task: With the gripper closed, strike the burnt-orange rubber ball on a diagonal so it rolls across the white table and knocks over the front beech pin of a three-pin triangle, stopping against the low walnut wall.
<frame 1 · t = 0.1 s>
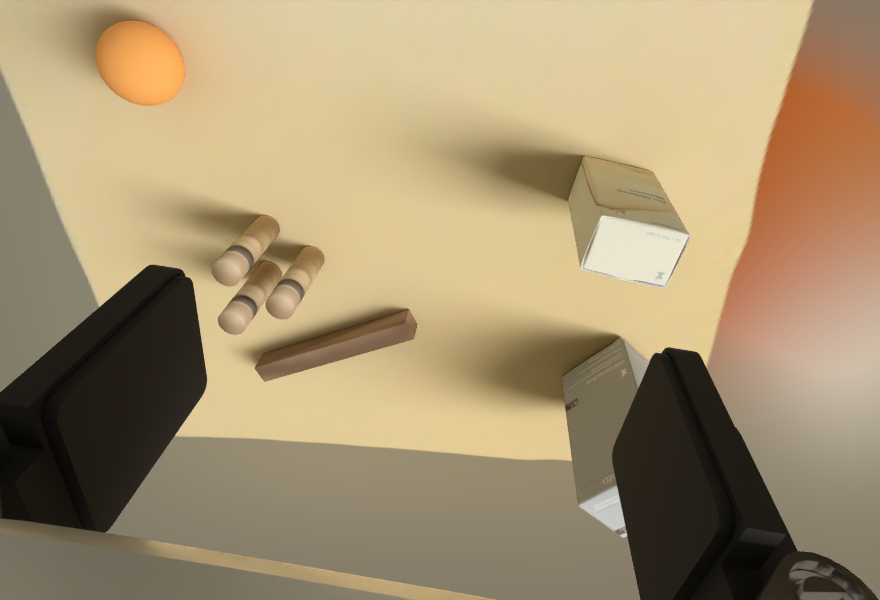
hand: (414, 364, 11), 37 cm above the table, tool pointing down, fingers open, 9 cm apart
skincare box 2: (607, 186, 46), on the table
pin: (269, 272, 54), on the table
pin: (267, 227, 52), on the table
back wall: (337, 339, 58), on the table
skincare box: (609, 375, 57), on the table
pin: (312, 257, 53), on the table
ball: (141, 64, 42), on the table
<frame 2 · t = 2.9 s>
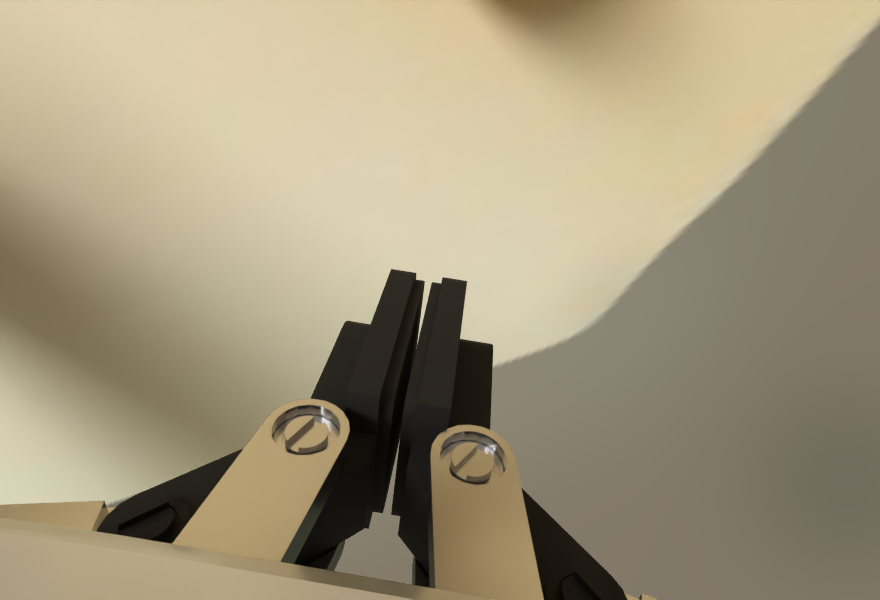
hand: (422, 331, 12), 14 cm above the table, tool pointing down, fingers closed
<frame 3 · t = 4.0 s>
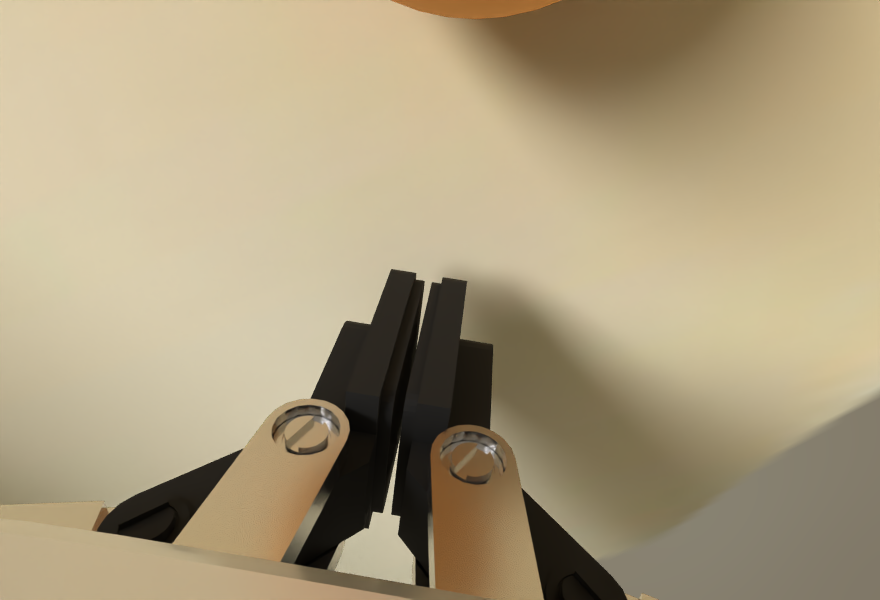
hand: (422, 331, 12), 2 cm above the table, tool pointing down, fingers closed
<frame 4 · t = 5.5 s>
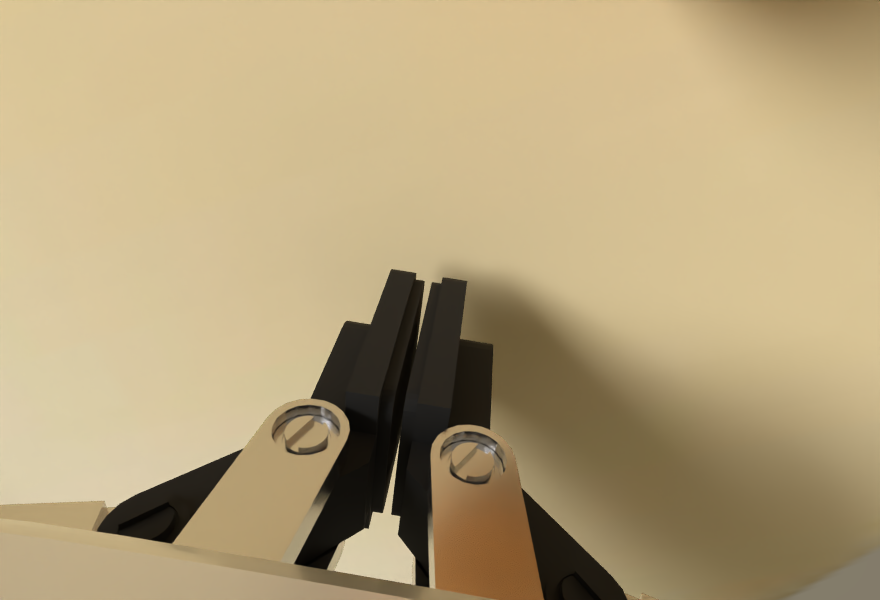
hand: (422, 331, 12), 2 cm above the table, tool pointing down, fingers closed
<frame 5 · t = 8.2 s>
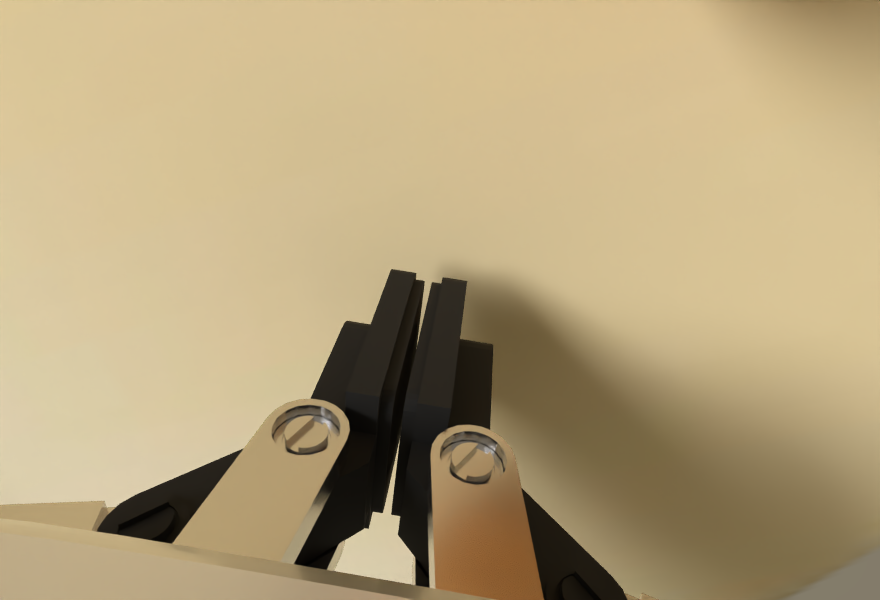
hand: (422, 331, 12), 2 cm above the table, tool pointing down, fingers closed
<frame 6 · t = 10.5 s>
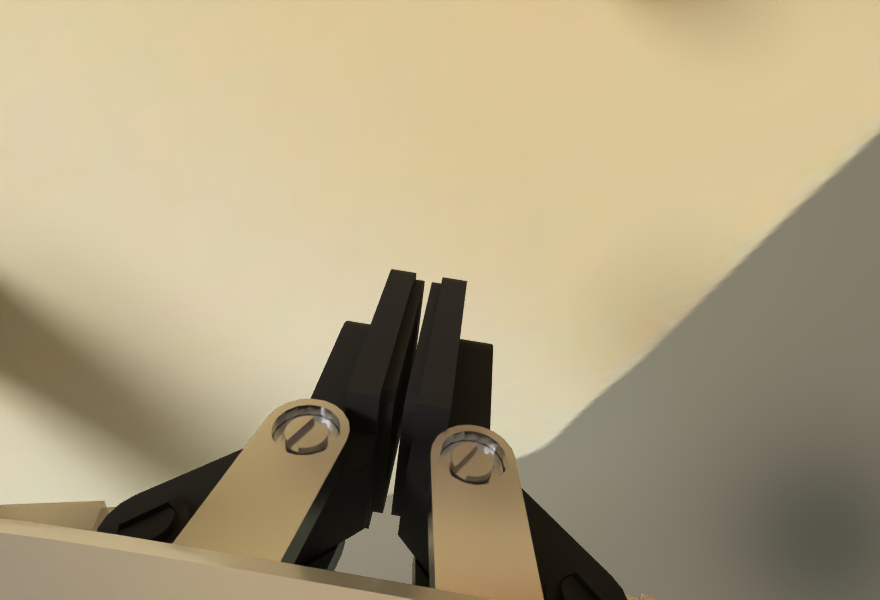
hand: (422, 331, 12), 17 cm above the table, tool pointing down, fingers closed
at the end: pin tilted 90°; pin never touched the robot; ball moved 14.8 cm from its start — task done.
